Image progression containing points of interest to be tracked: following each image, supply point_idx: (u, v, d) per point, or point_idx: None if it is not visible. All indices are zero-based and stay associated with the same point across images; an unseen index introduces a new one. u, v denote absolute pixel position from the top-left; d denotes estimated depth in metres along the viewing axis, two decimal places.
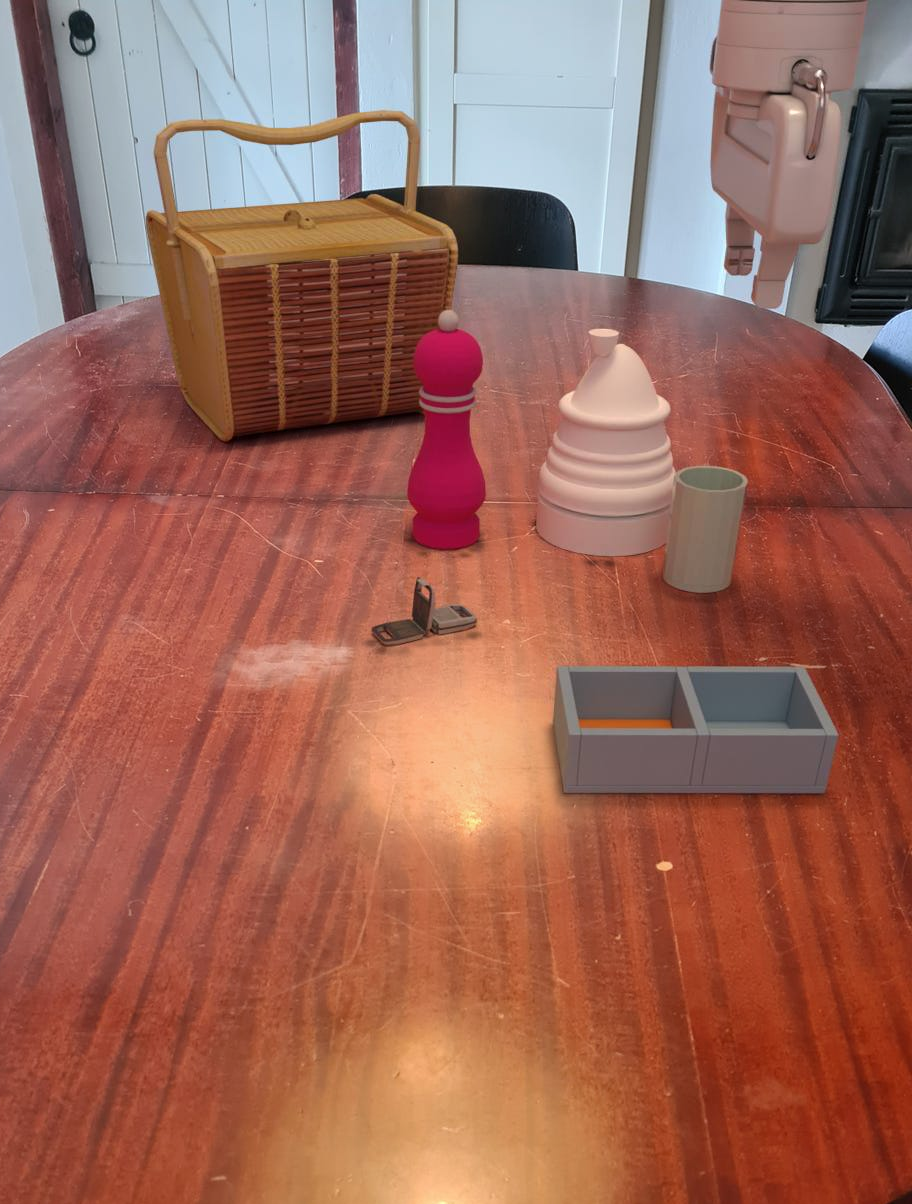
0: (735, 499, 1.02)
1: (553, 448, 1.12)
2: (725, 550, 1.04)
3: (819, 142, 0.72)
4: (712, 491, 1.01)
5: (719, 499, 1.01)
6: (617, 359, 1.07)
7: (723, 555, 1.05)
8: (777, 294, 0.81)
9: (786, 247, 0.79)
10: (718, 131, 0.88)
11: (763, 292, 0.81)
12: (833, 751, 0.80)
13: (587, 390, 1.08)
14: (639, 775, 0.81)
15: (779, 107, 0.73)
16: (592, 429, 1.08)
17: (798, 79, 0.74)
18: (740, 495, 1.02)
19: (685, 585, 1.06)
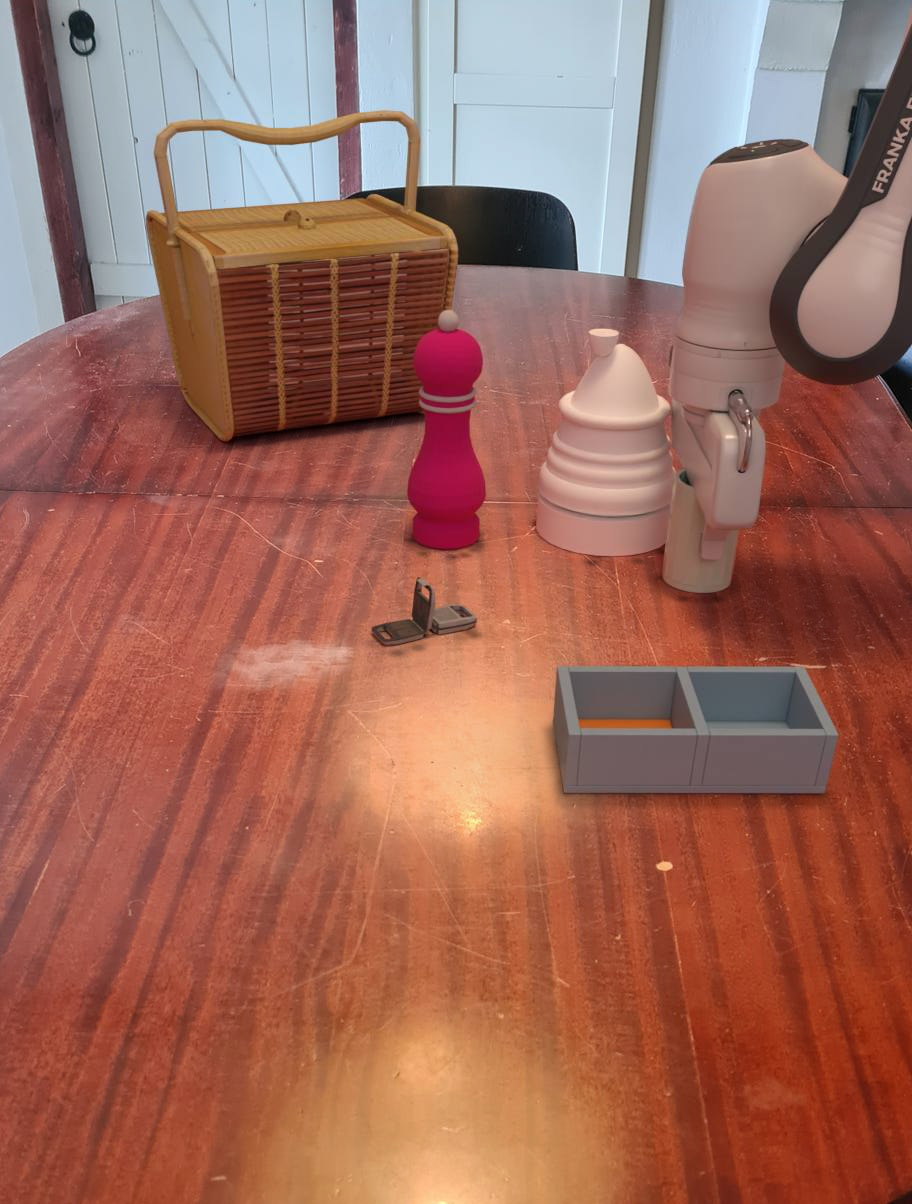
0: None
1: (553, 448, 1.12)
2: (725, 550, 1.04)
3: (748, 463, 0.92)
4: None
5: None
6: (617, 358, 1.07)
7: (723, 555, 1.05)
8: (718, 549, 1.02)
9: None
10: (676, 407, 1.08)
11: (707, 548, 1.02)
12: (833, 751, 0.80)
13: (587, 390, 1.08)
14: (639, 775, 0.81)
15: (718, 430, 0.93)
16: (592, 429, 1.08)
17: (733, 408, 0.94)
18: None
19: (685, 585, 1.06)
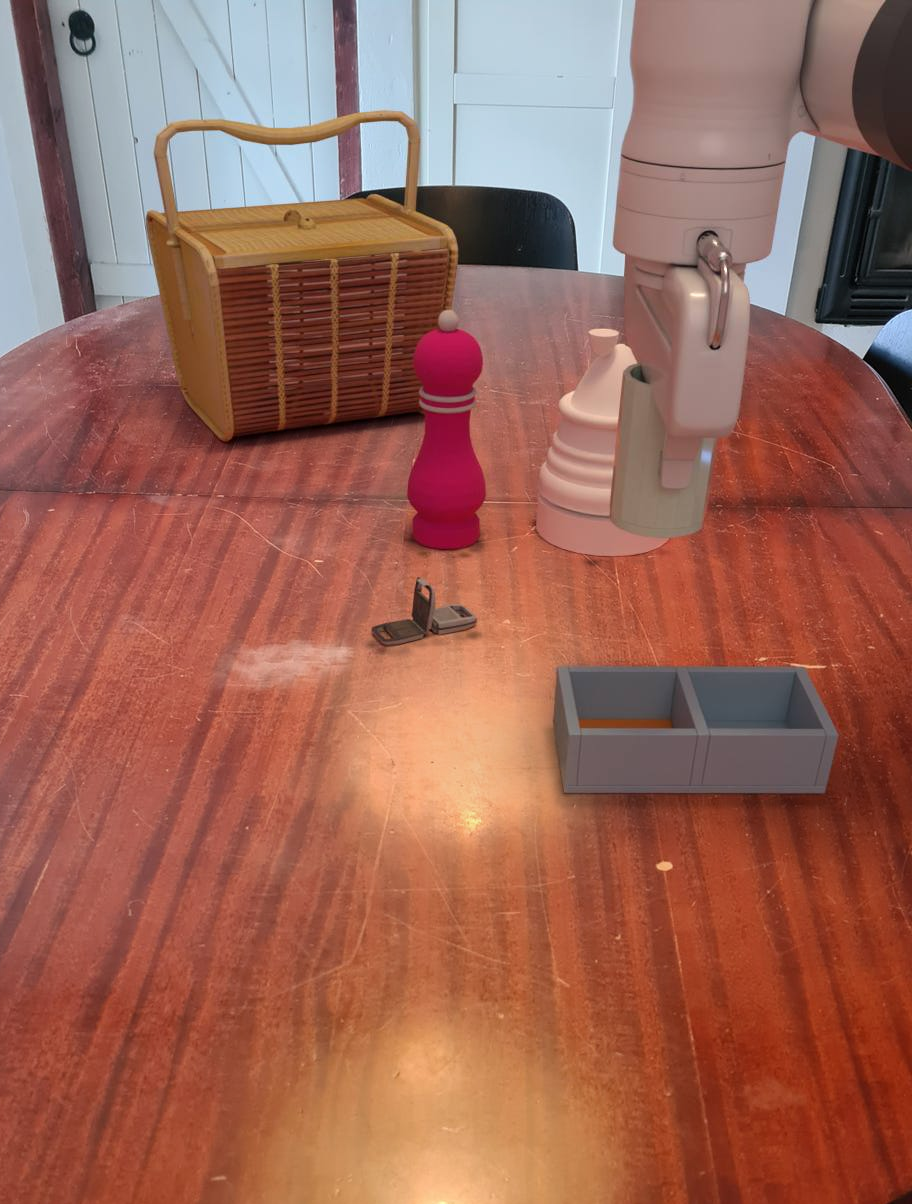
0: None
1: (553, 448, 1.12)
2: (694, 477, 0.75)
3: (723, 332, 0.62)
4: None
5: None
6: (617, 358, 1.07)
7: (691, 484, 0.75)
8: (685, 474, 0.73)
9: None
10: (630, 282, 0.78)
11: (669, 472, 0.73)
12: (833, 751, 0.80)
13: (587, 390, 1.08)
14: (639, 775, 0.81)
15: (680, 288, 0.64)
16: (592, 429, 1.08)
17: (702, 255, 0.64)
18: None
19: (639, 527, 0.76)
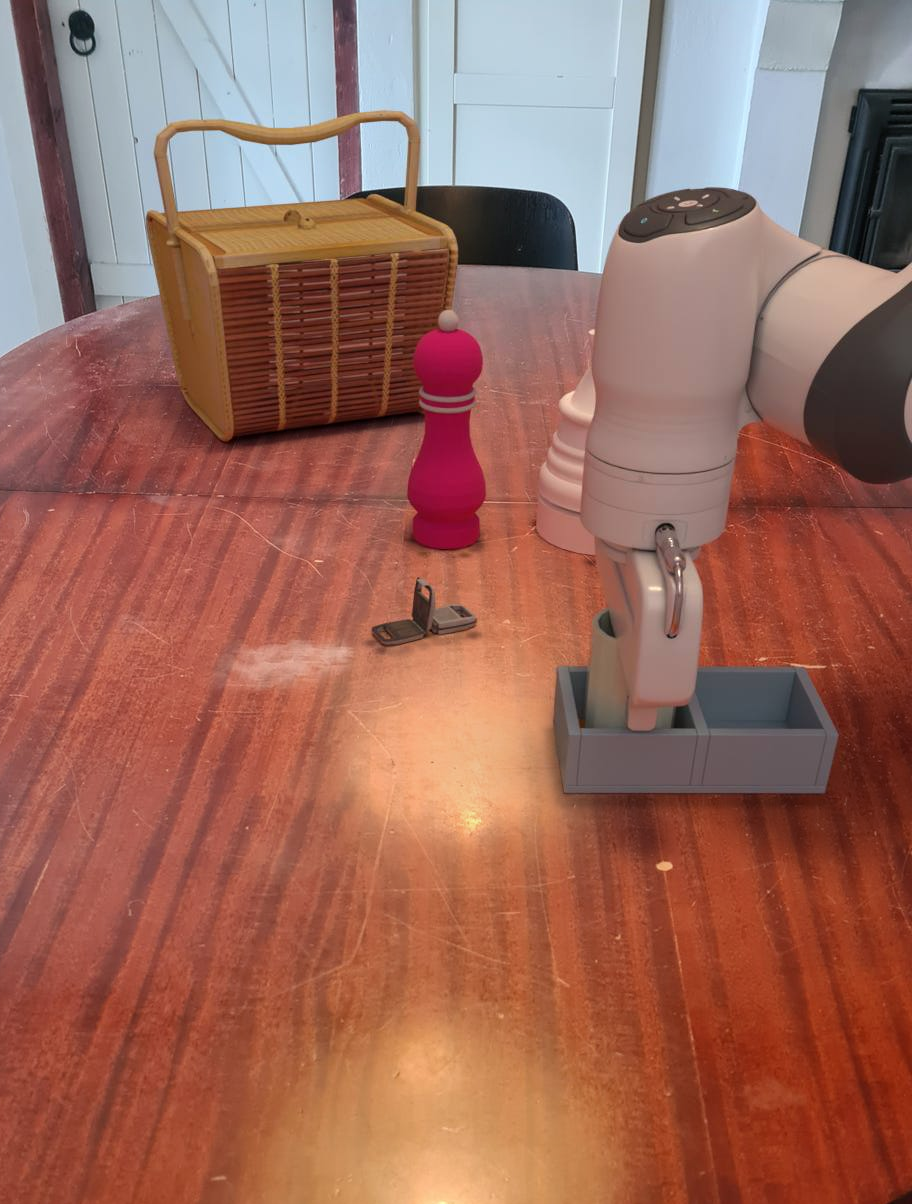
0: None
1: (553, 448, 1.12)
2: (659, 715, 0.81)
3: (679, 627, 0.68)
4: None
5: None
6: None
7: (656, 721, 0.81)
8: (650, 718, 0.79)
9: None
10: None
11: (635, 717, 0.79)
12: (833, 751, 0.80)
13: (586, 390, 1.08)
14: (639, 775, 0.81)
15: (639, 581, 0.70)
16: None
17: (660, 549, 0.70)
18: None
19: None
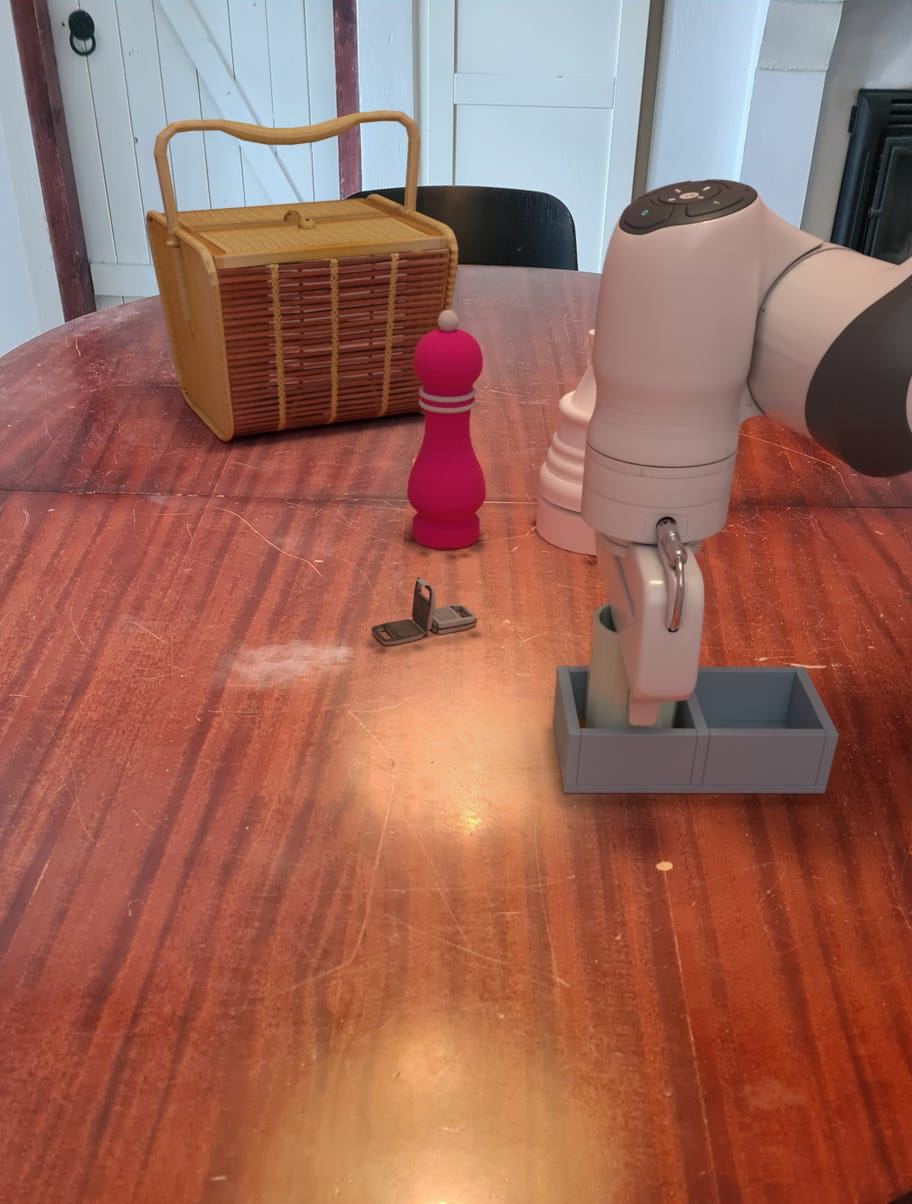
0: None
1: (553, 448, 1.12)
2: (660, 710, 0.80)
3: (680, 620, 0.68)
4: None
5: None
6: None
7: (657, 716, 0.81)
8: (651, 713, 0.78)
9: None
10: None
11: (636, 712, 0.78)
12: (833, 751, 0.80)
13: (587, 390, 1.08)
14: (639, 775, 0.81)
15: (641, 574, 0.69)
16: None
17: (661, 543, 0.70)
18: None
19: None
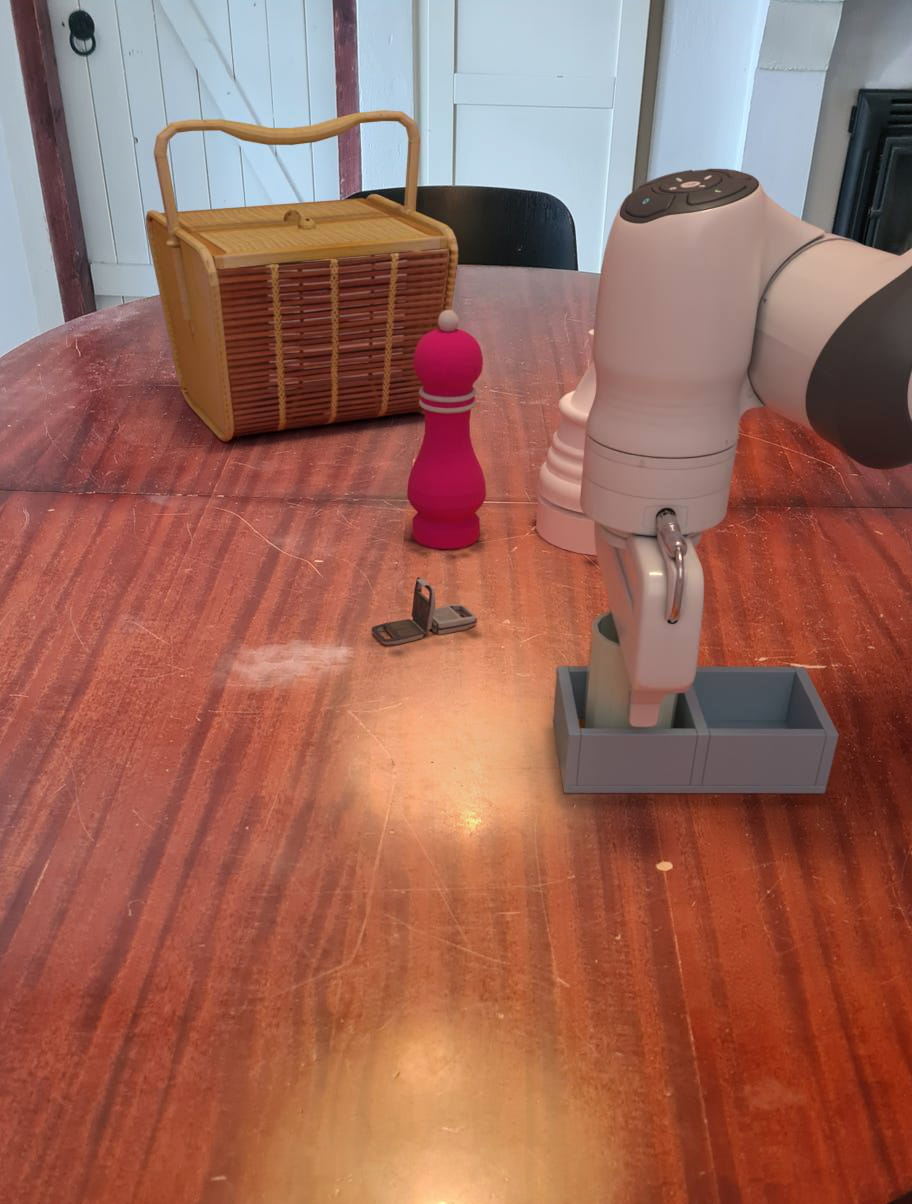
0: None
1: (553, 448, 1.12)
2: (658, 719, 0.81)
3: (679, 612, 0.68)
4: None
5: None
6: None
7: (655, 725, 0.81)
8: (652, 715, 0.77)
9: None
10: None
11: (637, 713, 0.77)
12: (833, 751, 0.80)
13: (586, 390, 1.08)
14: (639, 775, 0.81)
15: (640, 566, 0.69)
16: None
17: (660, 534, 0.69)
18: None
19: None
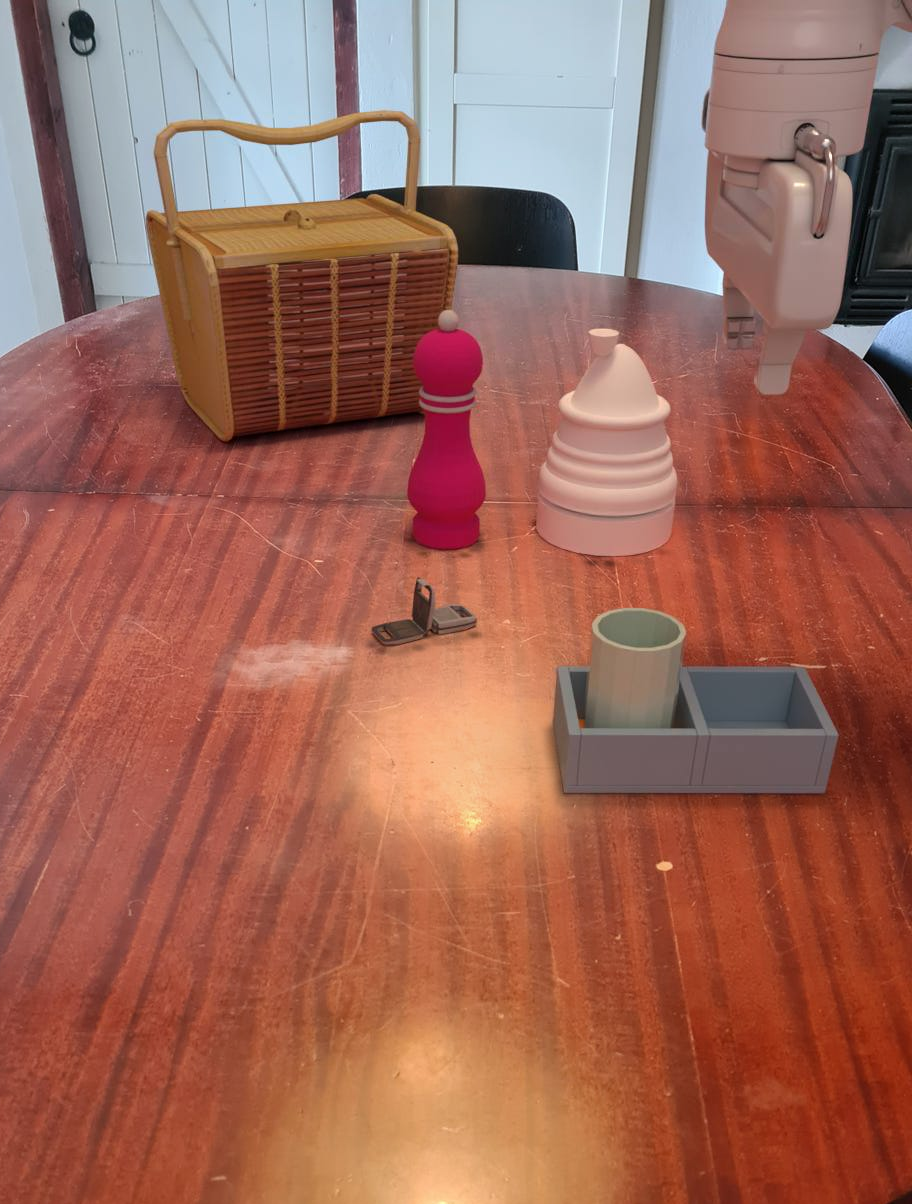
0: (668, 658, 0.78)
1: (553, 448, 1.12)
2: (658, 719, 0.81)
3: (828, 220, 0.63)
4: (638, 649, 0.77)
5: (647, 659, 0.78)
6: (617, 358, 1.07)
7: (655, 725, 0.81)
8: (783, 379, 0.73)
9: (792, 330, 0.70)
10: (712, 191, 0.79)
11: (767, 377, 0.73)
12: (833, 751, 0.80)
13: (587, 390, 1.08)
14: (639, 775, 0.81)
15: (782, 179, 0.65)
16: (592, 429, 1.08)
17: (802, 146, 0.65)
18: (675, 653, 0.78)
19: None
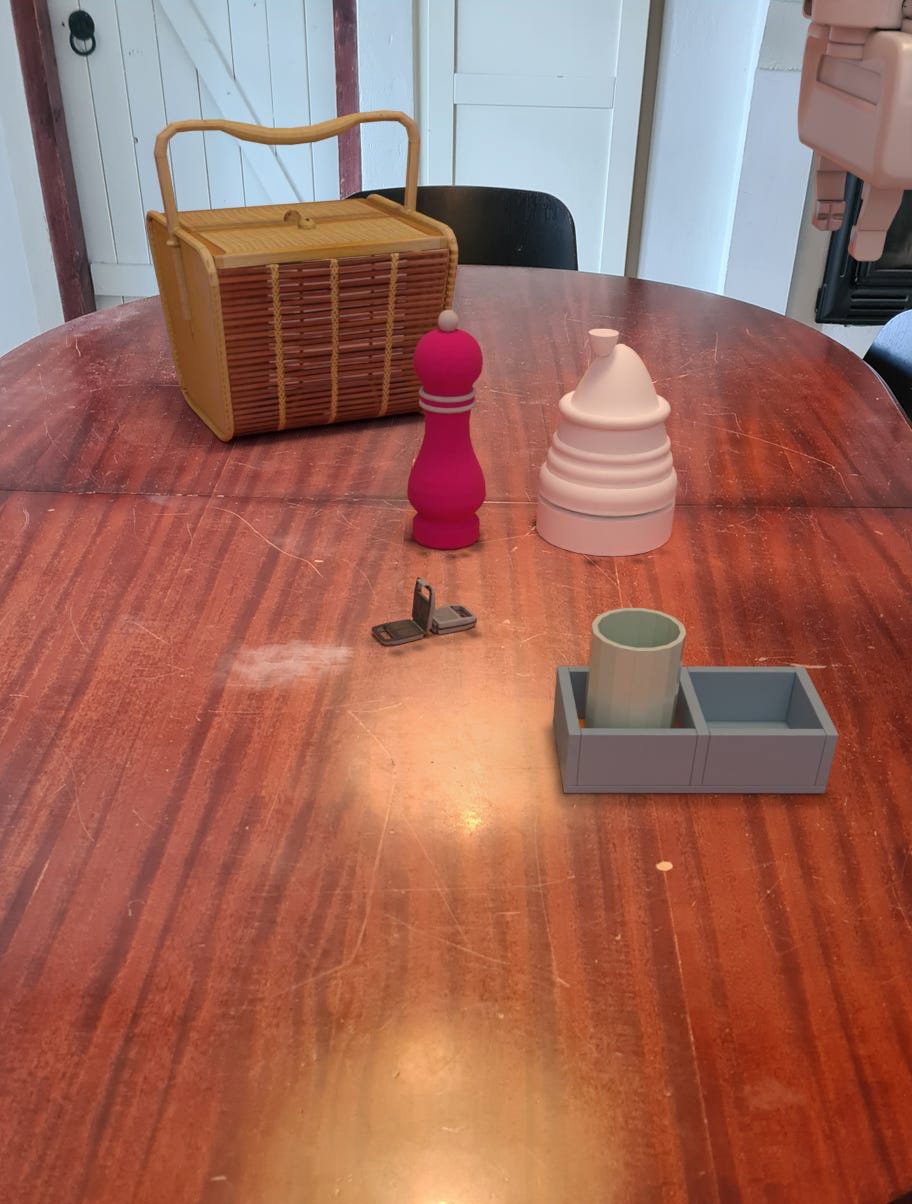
0: (668, 658, 0.78)
1: (553, 448, 1.12)
2: (658, 719, 0.81)
3: None
4: (638, 649, 0.77)
5: (647, 659, 0.78)
6: (617, 358, 1.07)
7: (655, 725, 0.81)
8: (877, 245, 0.77)
9: (890, 194, 0.75)
10: (808, 78, 0.84)
11: (862, 243, 0.77)
12: (833, 751, 0.80)
13: (587, 390, 1.08)
14: (639, 775, 0.81)
15: (892, 41, 0.69)
16: (592, 429, 1.08)
17: (911, 12, 0.70)
18: (675, 653, 0.78)
19: None
